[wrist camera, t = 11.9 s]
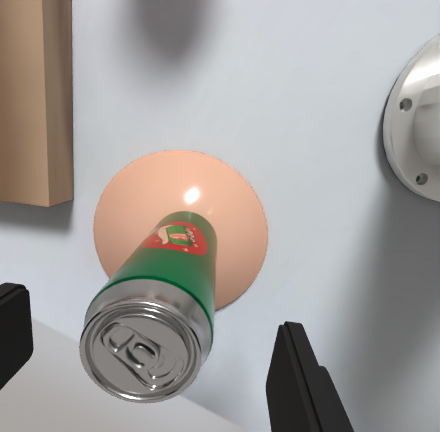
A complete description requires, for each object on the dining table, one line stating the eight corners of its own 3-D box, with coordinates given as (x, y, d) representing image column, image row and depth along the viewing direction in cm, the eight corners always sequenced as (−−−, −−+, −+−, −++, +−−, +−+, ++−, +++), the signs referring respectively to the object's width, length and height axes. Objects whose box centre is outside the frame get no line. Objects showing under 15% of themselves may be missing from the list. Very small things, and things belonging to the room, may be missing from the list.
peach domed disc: (280, 162, 20) (283, 163, 19) (251, 318, 23) (252, 324, 23) (99, 138, 19) (94, 137, 19) (97, 300, 23) (92, 305, 22)
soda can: (187, 280, 21) (147, 433, 10) (141, 239, 21) (38, 356, 9) (230, 239, 21) (242, 356, 9) (184, 195, 20) (130, 261, 8)
